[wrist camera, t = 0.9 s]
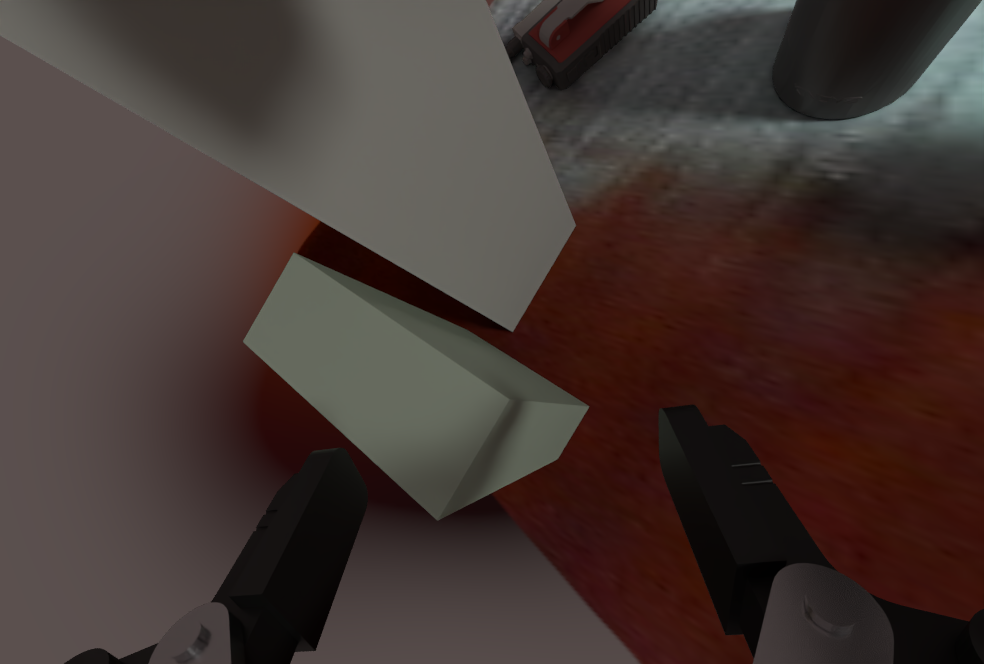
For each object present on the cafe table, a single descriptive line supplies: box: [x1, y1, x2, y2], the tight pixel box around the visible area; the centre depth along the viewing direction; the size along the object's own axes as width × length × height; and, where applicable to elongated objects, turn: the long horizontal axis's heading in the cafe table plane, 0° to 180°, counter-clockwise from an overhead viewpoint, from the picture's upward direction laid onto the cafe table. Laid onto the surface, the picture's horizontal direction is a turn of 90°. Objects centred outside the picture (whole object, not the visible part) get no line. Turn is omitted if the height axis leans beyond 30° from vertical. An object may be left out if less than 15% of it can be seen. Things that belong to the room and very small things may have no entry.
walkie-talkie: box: [505, 0, 658, 90], centre depth 38 cm, size 9×4×20 cm
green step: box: [243, 253, 589, 520], centre depth 26 cm, size 5×13×20 cm, turn 57°
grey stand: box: [0, 0, 576, 332], centre depth 23 cm, size 11×15×34 cm
